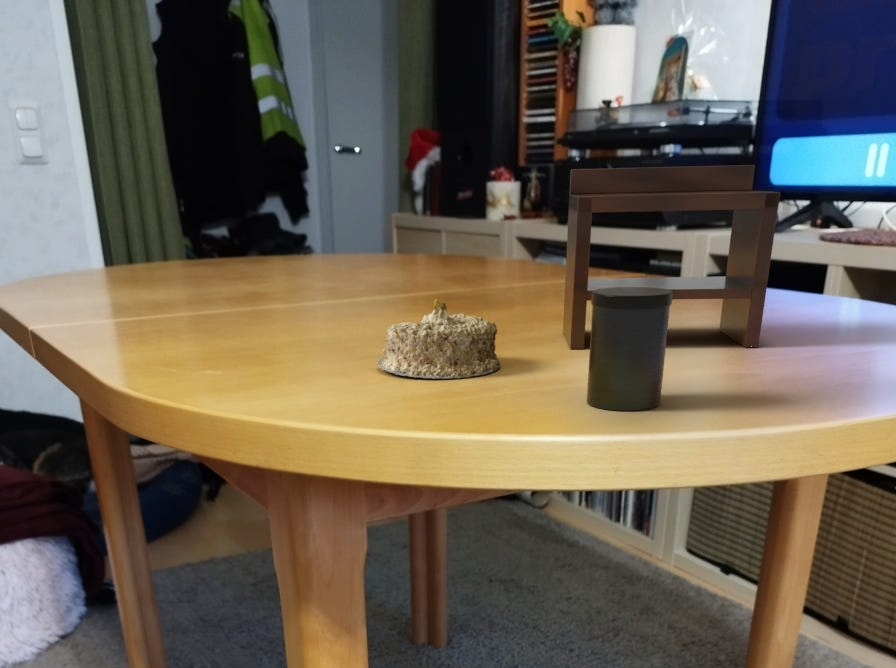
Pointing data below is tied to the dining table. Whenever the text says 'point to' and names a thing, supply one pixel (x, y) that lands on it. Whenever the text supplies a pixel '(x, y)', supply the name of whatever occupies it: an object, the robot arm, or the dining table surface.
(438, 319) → the cake
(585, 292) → the spice rack
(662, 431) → the dining table surface
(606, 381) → the spice tin
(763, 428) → the dining table surface
